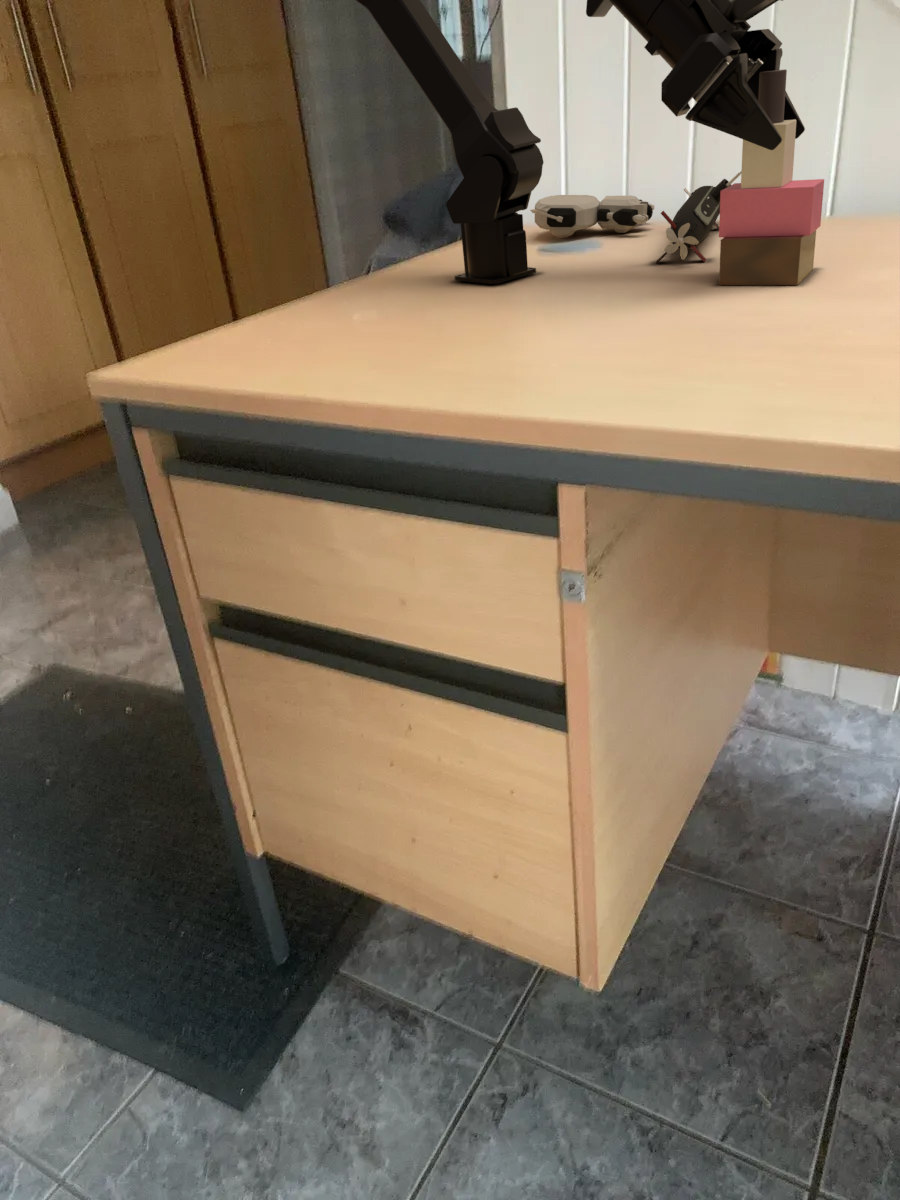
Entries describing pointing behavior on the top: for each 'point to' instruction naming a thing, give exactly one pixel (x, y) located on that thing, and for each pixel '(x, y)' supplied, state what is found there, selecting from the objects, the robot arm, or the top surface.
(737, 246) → the block
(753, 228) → the pink and tan tower
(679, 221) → the submarine model
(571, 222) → the robot toy
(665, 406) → the top surface
